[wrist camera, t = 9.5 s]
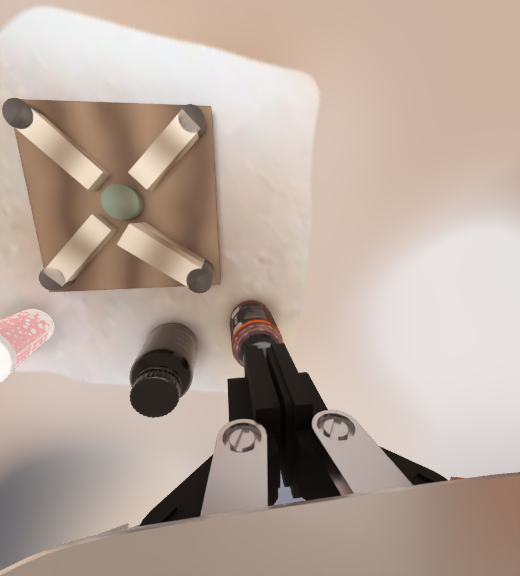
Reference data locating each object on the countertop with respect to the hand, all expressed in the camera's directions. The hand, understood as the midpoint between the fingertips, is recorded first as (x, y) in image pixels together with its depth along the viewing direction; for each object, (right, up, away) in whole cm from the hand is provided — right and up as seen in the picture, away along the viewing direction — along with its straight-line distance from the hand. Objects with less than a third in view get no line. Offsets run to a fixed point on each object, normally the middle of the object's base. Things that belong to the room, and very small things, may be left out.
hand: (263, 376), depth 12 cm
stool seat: (-16, +14, +22) cm, 31 cm away
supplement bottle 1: (-12, -4, +28) cm, 31 cm away
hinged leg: (-10, +8, +22) cm, 25 cm away
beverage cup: (-29, -1, +25) cm, 38 cm away
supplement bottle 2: (-2, -1, +29) cm, 29 cm away
